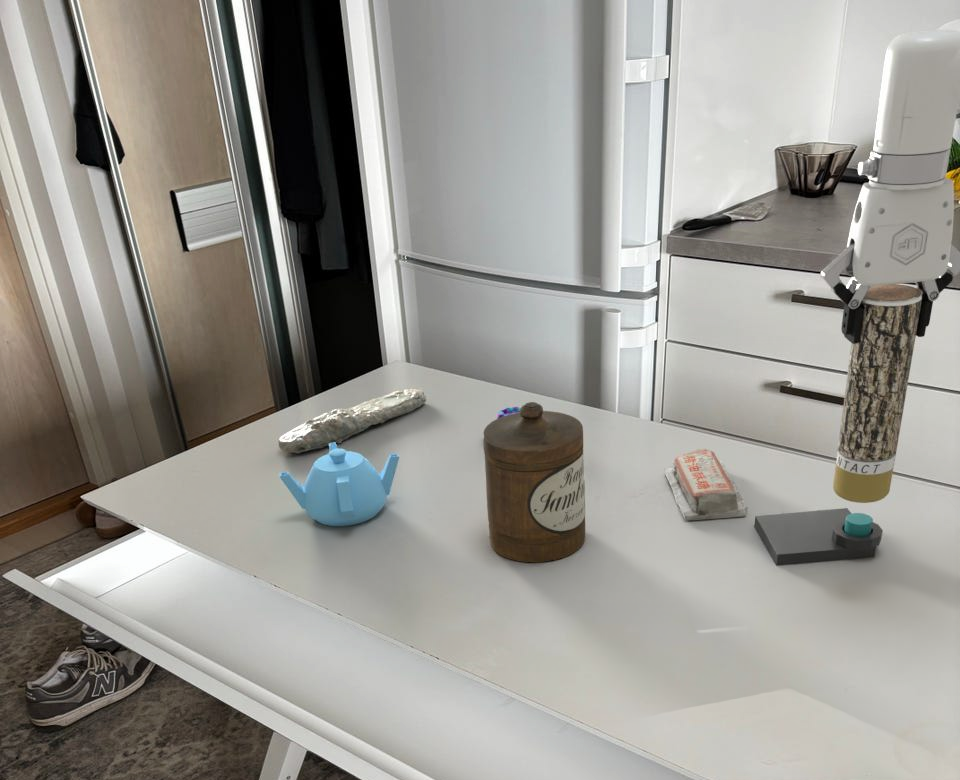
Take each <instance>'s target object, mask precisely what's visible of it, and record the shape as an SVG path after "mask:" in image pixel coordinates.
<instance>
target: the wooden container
mask: <svg viewBox="0 0 960 780" xmlns="http://www.w3.org/2000/svg"><path fill="white" fill-rule="evenodd" d="M519 408H520V412H519V413H514V414H510V415H507V416H503V417H501V418H498V419H497V418H496V419H494V420H492V421H491V422H489V424H487V425H486V426H485V428H484V429H483V432H482V433H483V435H482V445H483V453H484V467H485V468H484V471H485V490H486V493H485V494H486V509H487V510H486V511H487V521H488V534H489V543H490V547H491V548H492V550H493V551H494V552H495V553H497V554H498V555H499V556H501V557H504V558H506V559H509V560H512V561H518V562H523V563H524V562H525V563H543V562H551V561H556V560H559V559H562V558H565V557H567V556H571V554H574V553H575V552H577V551H578V550H579V549H580V548H581V547H582V546H583V545H584V543H585V540H586V481H585V460H584V459H585V458H584V427H583V424H582V422H581V421H580V420H579V419H577V418H576V417H575V416H572V415H569V414H567V413H563V412H557V411H551V410H544V408H543V406H542V405H541V404H540V403H538V402H535V401H529V402H526V403H524V404H523V405H522V406H521V407H519Z"/></svg>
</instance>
